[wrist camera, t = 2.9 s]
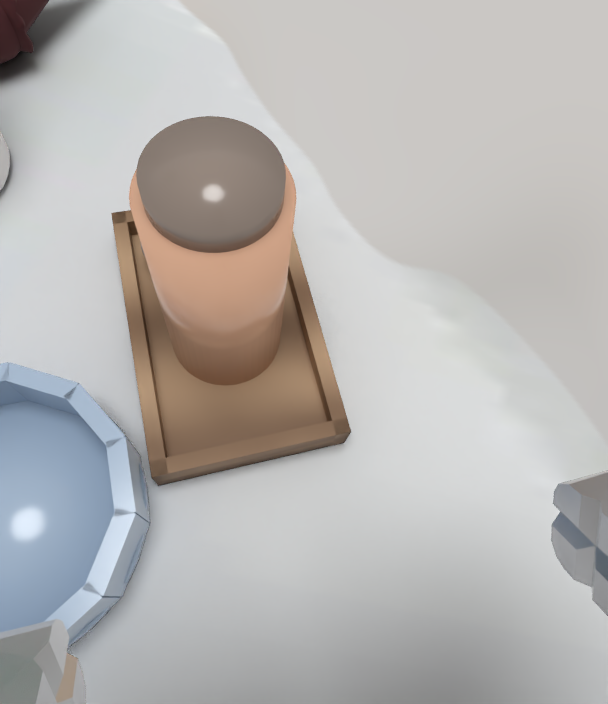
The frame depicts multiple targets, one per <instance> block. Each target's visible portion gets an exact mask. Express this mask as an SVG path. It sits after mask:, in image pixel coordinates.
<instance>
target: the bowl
mask: <svg viewBox="0 0 608 704" xmlns="http://www.w3.org/2000/svg"><path fill="white" fill-rule="evenodd" d="M149 523H150V518H149V502H148V489H147V484H146V480H145V475H144V471H143V468H142V464H141V457H140V455H139V453H138V452H137V451H136V449H135V448H134V447H133V446H132V444H131V443H130V441H129V440H128V439H127V437H126V436H125V435H124V433H123V432H122V431H121V429H120V428H119V427H118V425H117V424H115V423H114V422H113V421H112V420H111V419H110V418H109V417H108V416H107V415H106V413H105V412H104V411H103V410H102V409H101V408H100V407H99V405H98V404H97V403H96V402H95V401H94V400H93V399H92V397H91V396H90V395H89V394H88V393H87V392H86V391H85V389H84V388H83V387H82V386H81V385H80V384H79V383H77V382H73V381H70V380H67V379H63V378H60V377H57V376H53V375H50V374H47V373H43V372H40V371H37V370H33V369H30V368H27V367H23V366H20V365H17V364H13V363H2V364H0V633H1V632H5V631H9V630H13V629H17V628H21V627H25V626H29V625H33V624H37V623H41V622H46V621H50V620H54V619H59V620H62V621H63V623H64V626H65V628H66V630H67V632H68V635H69V642H68V647H69V646H70V645H72V644H73V643H75V642H76V641H77V640H79V639H80V638H81V637H82V636H83V635H85V634H86V633H87V632H88V631H89V630H91V629H92V628H93V627H94V626H95V625H96V624H97V623H98V622H99V621H100V620H101V619H102V618H103V617H104V616H105V615H106V613H107V612H108V611H109V610H110V608H111V607H112V606H113V605H114V604H115V603H117V602H118V601H119V600H120V599H121V596H123V594H124V591H125V589H126V586H127V584H128V582H129V580H130V578H131V576H132V574H133V572H134V570H135V567H136V565H137V563H138V561H139V558H140V555H141V551H142V548H143V545H144V542H145V536H146V533H147V531H148V528H149V525H150V524H149Z"/></svg>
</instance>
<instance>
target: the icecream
mask: <svg viewBox="0 0 608 704" xmlns="http://www.w3.org/2000/svg"><path fill="white" fill-rule="evenodd" d="M48 1H49V0H0V64H2V63H4V62H6V61H8V60H11V59H13V58H14V57H16V56H17V54H18V52H19V51H23V52H29V53H32V52H33V43H32V41H31V39H30V38H29V36H28V35H27V31H28V30H29V29H30V27H31V26H32V24H33V23H34V21H35V20H36V19H37V17H38V16H39V14H40V13H41V11H42V10H43V8H44V7H45V6H46V4H47V3H48Z"/></svg>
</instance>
